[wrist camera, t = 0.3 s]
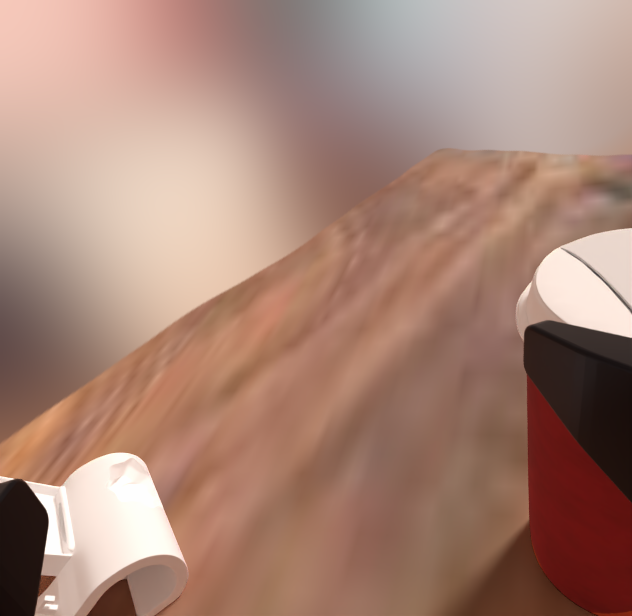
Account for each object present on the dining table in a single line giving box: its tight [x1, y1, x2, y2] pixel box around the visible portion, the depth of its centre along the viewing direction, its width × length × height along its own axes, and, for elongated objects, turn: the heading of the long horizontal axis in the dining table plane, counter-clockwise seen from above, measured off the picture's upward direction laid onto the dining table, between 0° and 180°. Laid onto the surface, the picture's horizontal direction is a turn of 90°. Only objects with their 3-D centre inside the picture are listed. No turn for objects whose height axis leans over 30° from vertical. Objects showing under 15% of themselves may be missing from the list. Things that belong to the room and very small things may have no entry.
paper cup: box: [516, 228, 632, 616], centre depth 16 cm, size 8×8×14 cm
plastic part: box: [0, 453, 188, 616], centre depth 20 cm, size 8×10×12 cm
